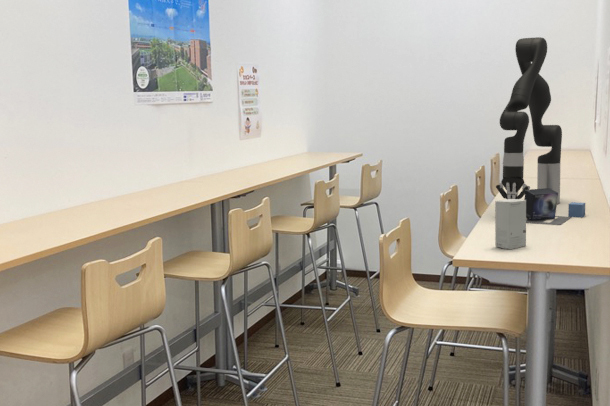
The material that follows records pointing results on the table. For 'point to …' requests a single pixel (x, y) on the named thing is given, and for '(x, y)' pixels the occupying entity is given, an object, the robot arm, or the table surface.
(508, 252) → the table surface
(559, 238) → the table surface
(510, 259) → the table surface
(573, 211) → the blue cube
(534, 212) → the small box
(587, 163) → the table surface
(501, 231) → the skincare box
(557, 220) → the letter board
